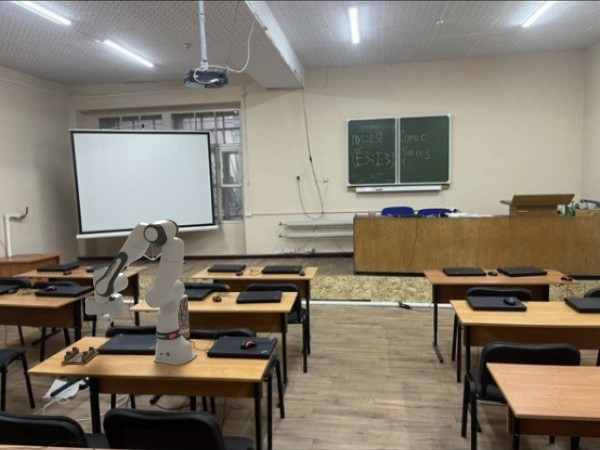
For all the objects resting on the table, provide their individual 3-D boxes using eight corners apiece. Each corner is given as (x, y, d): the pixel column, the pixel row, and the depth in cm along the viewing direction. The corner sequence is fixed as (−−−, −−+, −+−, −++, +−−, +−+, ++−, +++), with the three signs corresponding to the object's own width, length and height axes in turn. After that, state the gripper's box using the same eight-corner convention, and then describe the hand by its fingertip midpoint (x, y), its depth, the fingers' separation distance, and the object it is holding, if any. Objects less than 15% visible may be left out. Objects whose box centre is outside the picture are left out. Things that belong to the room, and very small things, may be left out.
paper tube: (187, 339, 236) (185, 297, 234) (176, 339, 236) (173, 297, 234) (191, 335, 243) (188, 294, 240) (179, 335, 243) (177, 294, 241)
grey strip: (107, 321, 227) (106, 313, 226) (113, 320, 227) (112, 312, 227) (99, 328, 215) (98, 320, 214) (105, 328, 215) (104, 320, 215)
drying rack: (98, 353, 219) (98, 344, 219) (86, 363, 207) (85, 353, 207) (75, 354, 220) (74, 344, 219) (61, 363, 208) (60, 354, 207)
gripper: (81, 299, 216) (83, 324, 218) (119, 298, 216) (121, 323, 217) (88, 295, 223) (90, 320, 224) (124, 294, 222) (126, 319, 224)
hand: (106, 321), depth 221 cm, fingers closed on grey strip, 3 cm apart
